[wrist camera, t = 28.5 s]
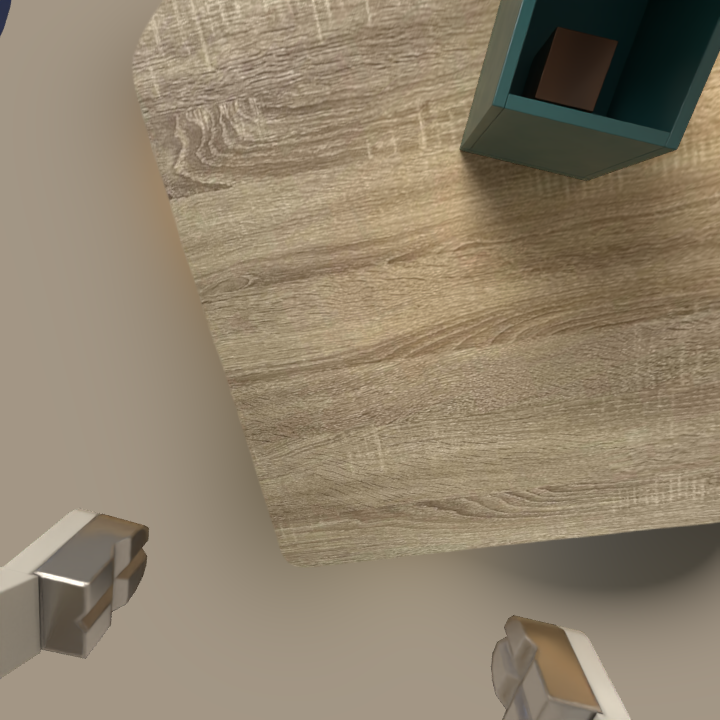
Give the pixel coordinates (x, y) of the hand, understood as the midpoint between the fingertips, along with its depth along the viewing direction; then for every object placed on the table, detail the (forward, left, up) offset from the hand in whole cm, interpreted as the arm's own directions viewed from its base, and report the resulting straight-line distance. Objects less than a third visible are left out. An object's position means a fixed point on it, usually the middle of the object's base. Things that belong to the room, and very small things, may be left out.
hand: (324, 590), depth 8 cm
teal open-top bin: (-19, +17, -31) cm, 40 cm away
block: (-18, +17, -30) cm, 39 cm away
